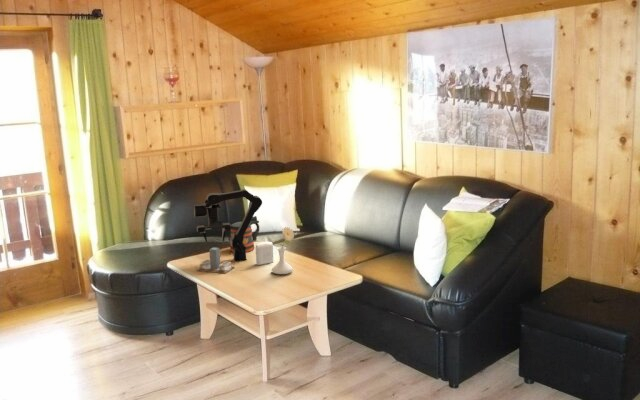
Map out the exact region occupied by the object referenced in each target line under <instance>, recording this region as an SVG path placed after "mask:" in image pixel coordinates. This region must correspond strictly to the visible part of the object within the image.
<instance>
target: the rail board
mask: <svg viewBox="0 0 640 400" xmlns="http://www.w3.org/2000/svg"><path fill="white" fill-rule="evenodd" d="M234 269H235V266H232V262H231V261H224V262H222V263H220V265H219V268H218V269H211V266H210V259H205V260H203V261H201V262H200V263H199V268H197V269H196V272H203V273H213V274H224V275H225V274H226V275H227V274H228V273H229V272H231V271H233V270H234Z"/></svg>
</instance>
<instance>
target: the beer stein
mask: <svg viewBox="0 0 640 400" xmlns="http://www.w3.org/2000/svg"><path fill="white" fill-rule="evenodd" d="M241 223H242V221H237V222H234V223H232V224H230V225H231V229H230V237H231V236H232V234H233V232H234V233H236V232H237V231H238V229H239V227H240V225H241ZM259 223H260V221H259V220H258V217H257V215H254V216H253V217H252V219H251V221H250V224H249V226H248V228H247V230H246V232H245V234H244V238H243V242H242V243H243V244H244V245H245V247H246V253H248V252H251V251H254V249H255V245H254V243H255V242H256V241H257V239H258V238H257V237H258V235H259V232H260V224H259ZM252 225H255V226H256V229H255V230H254V231H253V229H252ZM229 246H230V247H229V251H230V252H232V253H233V252H234V249H235V248H234V247H233V246H232V245H231V243H229Z"/></svg>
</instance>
